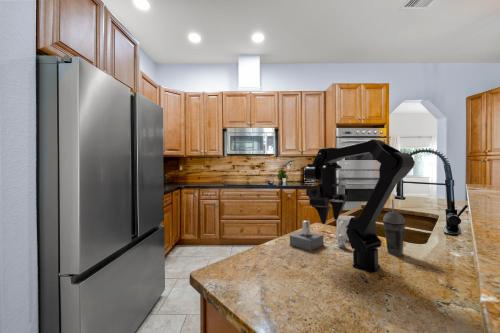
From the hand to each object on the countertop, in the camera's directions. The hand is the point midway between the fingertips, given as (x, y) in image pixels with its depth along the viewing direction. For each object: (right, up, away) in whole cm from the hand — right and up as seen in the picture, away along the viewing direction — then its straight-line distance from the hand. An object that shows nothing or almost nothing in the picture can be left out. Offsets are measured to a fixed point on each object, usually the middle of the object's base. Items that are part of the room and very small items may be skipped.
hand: (329, 221), depth 87 cm
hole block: (-6, -12, +10) cm, 17 cm away
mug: (+13, -12, +17) cm, 25 cm away
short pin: (+7, -12, +6) cm, 15 cm away
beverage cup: (+24, -12, -2) cm, 26 cm away
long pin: (-6, -12, +10) cm, 17 cm away
